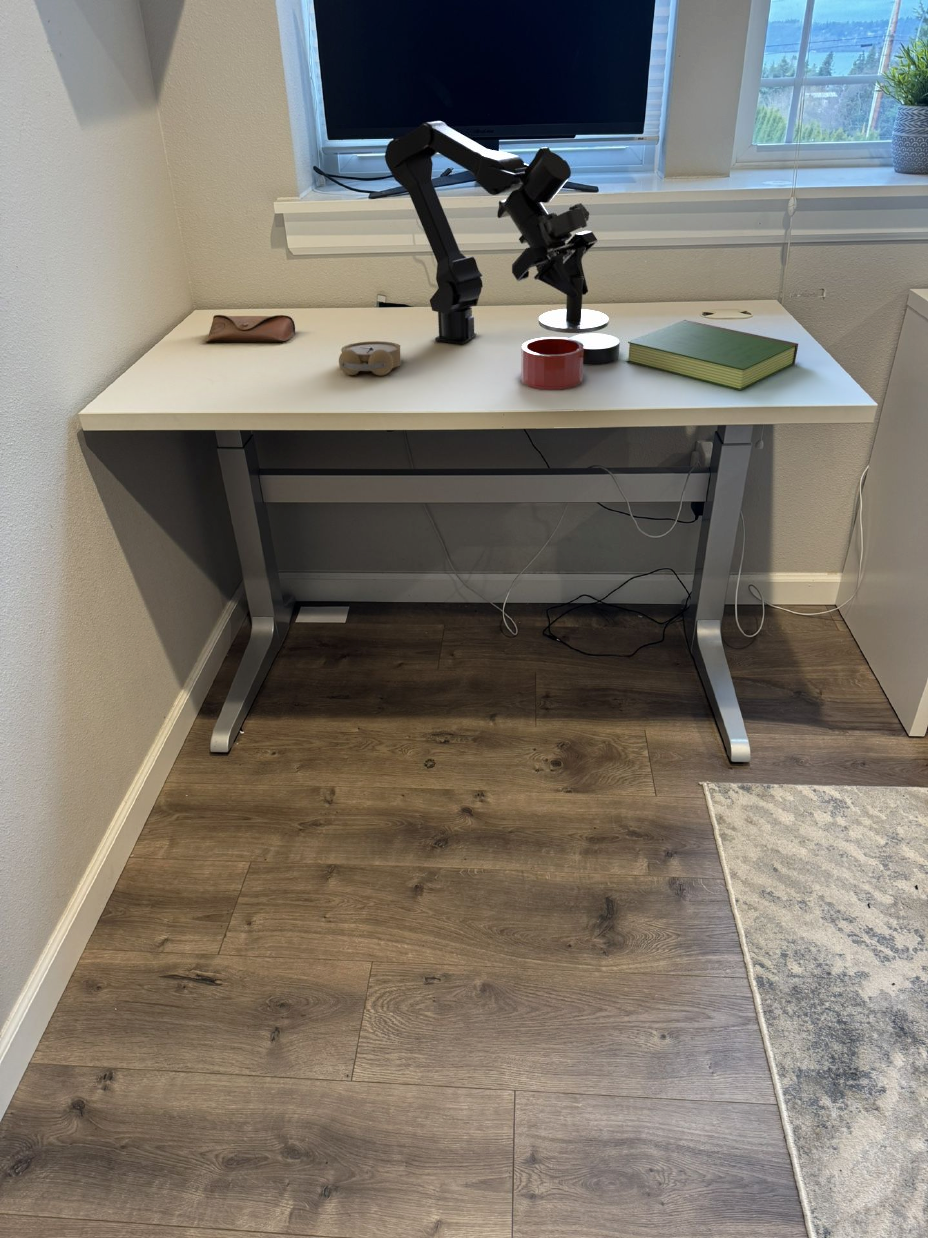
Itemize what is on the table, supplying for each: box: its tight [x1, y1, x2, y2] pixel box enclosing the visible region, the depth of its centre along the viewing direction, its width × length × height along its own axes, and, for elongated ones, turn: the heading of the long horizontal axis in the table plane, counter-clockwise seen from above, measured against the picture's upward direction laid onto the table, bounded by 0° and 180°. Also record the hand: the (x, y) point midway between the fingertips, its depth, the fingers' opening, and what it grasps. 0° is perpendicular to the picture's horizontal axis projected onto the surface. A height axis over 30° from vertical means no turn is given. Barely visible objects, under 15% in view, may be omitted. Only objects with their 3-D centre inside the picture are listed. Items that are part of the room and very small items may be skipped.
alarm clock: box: [338, 340, 402, 376], centre depth 165 cm, size 11×5×15 cm
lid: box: [538, 275, 610, 334], centre depth 156 cm, size 13×13×8 cm
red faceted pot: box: [520, 336, 584, 391], centre depth 156 cm, size 11×11×6 cm
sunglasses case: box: [204, 314, 296, 344], centre depth 185 cm, size 18×7×7 cm
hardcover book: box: [626, 319, 799, 392], centre depth 162 cm, size 25×19×4 cm
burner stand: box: [569, 333, 621, 366], centre depth 167 cm, size 10×10×3 cm
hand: (580, 295), depth 155 cm, fingers closed on lid, 3 cm apart
